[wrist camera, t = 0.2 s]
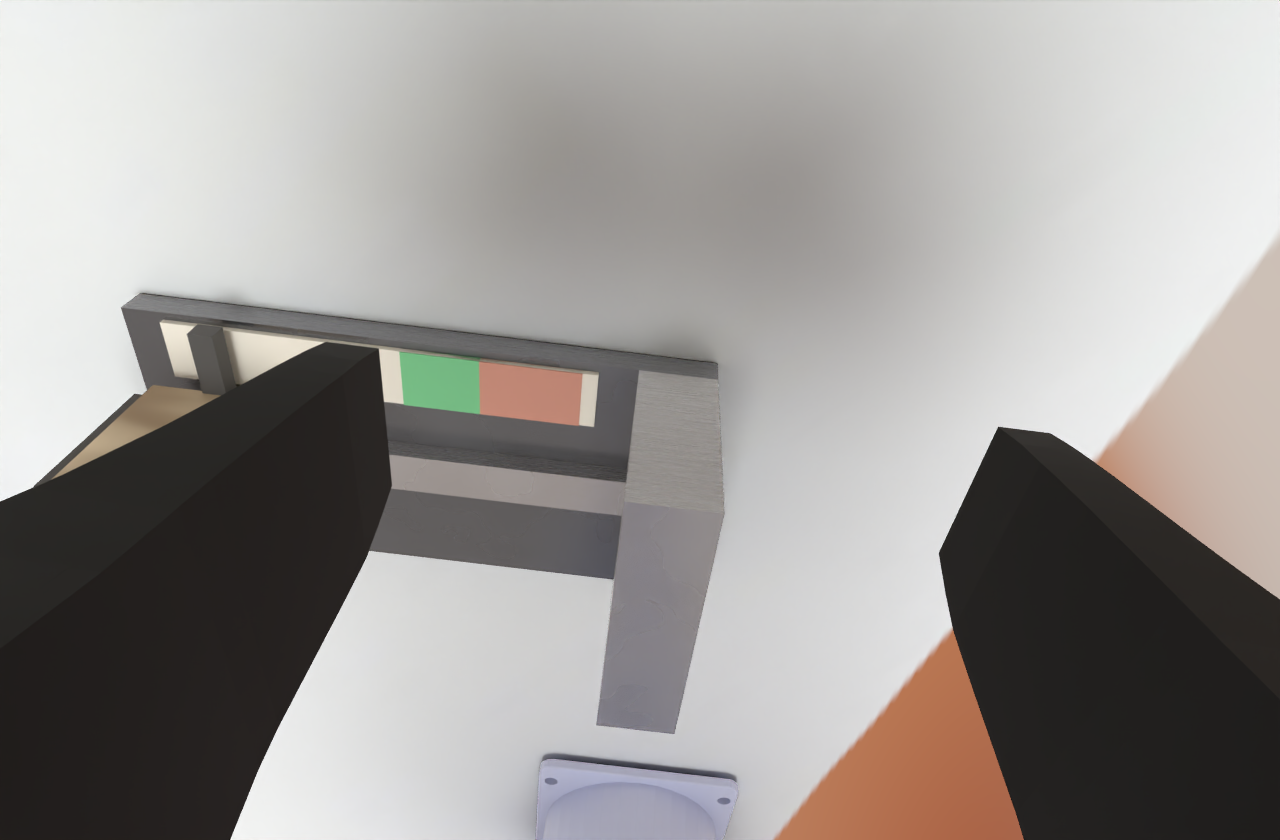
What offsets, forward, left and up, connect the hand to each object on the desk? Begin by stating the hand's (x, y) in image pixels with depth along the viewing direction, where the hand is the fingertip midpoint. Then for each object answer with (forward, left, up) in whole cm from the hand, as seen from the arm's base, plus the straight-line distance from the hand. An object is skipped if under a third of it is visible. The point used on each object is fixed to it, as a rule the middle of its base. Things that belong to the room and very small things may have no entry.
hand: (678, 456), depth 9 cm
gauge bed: (-8, +6, -10) cm, 14 cm away
